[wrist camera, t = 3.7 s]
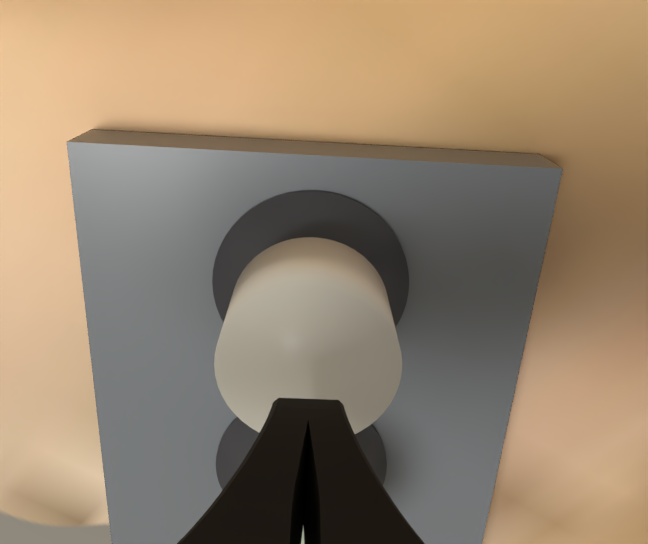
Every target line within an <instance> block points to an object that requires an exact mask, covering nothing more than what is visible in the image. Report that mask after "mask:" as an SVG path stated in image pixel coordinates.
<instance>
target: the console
mask: <svg viewBox="0 0 648 544" xmlns="http://www.w3.org/2000/svg"><path fill="white" fill-rule="evenodd" d="M67 149H68V158H69V167H70V176H71V185H72V193H73V202H74V211H75V220H76V229H77V238H78V247H79V256H80V265H81V274H82V282H83V291H84V300H85V309H86V318H87V327H88V336H89V345H90V354H91V363H92V372H93V380H94V389H95V398H96V407H97V416H98V425H99V434H100V443H101V452H102V461H103V470H104V478H105V487H106V496H107V505H108V514H109V523H110V532H111V540H112V544H177V543H178V542H179V541H180V540H181V539H182V538H183V537H184V536H185V535H186V534H187V533H188V532H189V530H190V529H191V528H192V527H193V526H194V525H195V524H196V522H197V521H198V520H199V519H200V518H201V517H202V516H203V514H204V513H205V512H206V511H207V510H208V508H209V507H210V506H211V505H212V503H213V502H214V501H215V500H216V498H217V497H218V496H219V494H220V493H221V492H222V490H223V489H224V488H225V486H226V485H227V483H228V482H229V481H230V479H231V478H232V476H233V475H234V474H235V472H236V471H237V469H238V468H239V466H240V465H241V463H242V462H243V460H244V459H245V457H246V455H247V454H248V452H249V450H250V449H251V447H252V445H253V444H254V442H255V440H256V439H257V437H258V435H259V432H257V431H255V430H254V429H252V428H250V427H249V426H248V425H246V424H245V423H244V422H243V421H241V420H240V419H239V418H238V417H237V416H236V415H235V414H234V413H233V412H232V410H231V409H230V408H229V406H228V405H227V404H226V402H225V400H224V399H223V397H222V395H221V393H220V390H219V388H218V385H217V381H216V377H215V369H214V358H215V351H216V346H217V342H218V339H219V336H220V333H221V329H222V326H223V323H224V320H225V317H226V313H227V310H228V307H229V304H230V301H231V297H232V294H233V291H234V288H235V285H236V283H237V280H238V278H239V277H240V275H241V273H242V271H243V270H244V269H245V267H246V266H247V265H248V263H249V262H251V261H252V260H253V259H254V258H255V257H256V256H257V255H258V254H260V253H261V252H262V251H264V250H265V249H267V248H269V247H271V246H273V245H275V244H277V243H280V242H282V241H286V240H290V239H295V238H302V237H316V238H325V239H329V240H333V241H337V242H339V243H342V244H345V245H347V246H349V247H350V248H352V249H354V250H356V251H357V252H358V253H360V254H361V255H363V256H364V257H365V258H366V259H367V260H368V261H369V262H370V263H371V264H372V265H373V267H374V268H375V269H376V270H377V272H378V274H379V275H380V277H381V279H382V281H383V283H384V286H385V288H386V292H387V296H388V300H389V304H390V308H391V312H392V316H393V321H394V325H395V329H396V333H397V337H398V341H399V345H400V349H401V355H402V375H401V380H400V384H399V387H398V390H397V392H396V395H395V396H394V398H393V400H392V402H391V404H390V405H389V406H388V408H387V409H386V410H385V412H384V413H383V414H382V415H381V416H380V417H379V418H378V419H377V420H376V421H375V422H373V423H372V424H371V425H370V426H368V427H367V428H365V429H364V430H362V431H360V432H359V433H356V434H355V436H356V438H357V441H358V443H359V445H360V447H361V449H362V451H363V452H364V454H365V456H366V458H367V460H368V461H369V463H370V465H371V467H372V469H373V470H374V472H375V474H376V476H377V477H378V479H379V481H380V482H381V484H382V485H383V487H384V489H385V490H386V492H387V493H388V495H389V496H390V498H391V499H392V501H393V502H394V504H395V505H396V507H397V508H398V509H399V511H400V512H401V514H402V515H403V516H404V518H405V519H406V521H407V522H408V523H409V524H410V526H411V527H412V528H413V530H414V531H415V532H416V533H417V535H418V536H419V537H420V538H421V540H422V541H423V542H424V543H425V544H482V541H483V536H484V531H485V527H486V522H487V518H488V513H489V508H490V504H491V499H492V494H493V490H494V485H495V481H496V476H497V471H498V467H499V462H500V457H501V453H502V448H503V443H504V439H505V434H506V430H507V425H508V420H509V416H510V411H511V406H512V402H513V397H514V393H515V388H516V383H517V379H518V374H519V369H520V365H521V360H522V355H523V351H524V346H525V342H526V337H527V332H528V328H529V323H530V318H531V314H532V309H533V305H534V300H535V295H536V291H537V286H538V281H539V277H540V272H541V268H542V263H543V258H544V254H545V249H546V244H547V240H548V235H549V230H550V226H551V221H552V217H553V212H554V207H555V203H556V198H557V193H558V189H559V184H560V180H561V175H562V170H563V169H562V168H561V167H559V166H558V165H556V164H554V163H553V162H551V161H549V160H548V159H546V158H545V157H543V156H541V155H540V154H530V153H512V152H494V151H475V150H457V149H439V148H421V147H403V146H385V145H367V144H349V143H330V142H312V141H294V140H276V139H258V138H240V137H222V136H203V135H185V134H167V133H149V132H131V131H113V130H95V129H92V130H90V131H88V132H85V133H83V134H81V135H79V136H77V137H75V138H73V139H71V140H69V141H67Z"/></svg>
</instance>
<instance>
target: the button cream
mask: <svg viewBox="0 0 648 544" xmlns="http://www.w3.org/2000/svg"><path fill="white" fill-rule="evenodd" d="M214 369H215V377H216V381H217V385H218V388H219V390H220V393H221V395H222V397H223V399H224V400H225V402H226V404H227V405H228V406H229V408H230V409H231V410H232V412H233V413H234V414H235V415H236V416H237V417H238V418H239V419H240V420H241V421H243V422H244V423H245V424H246V425H248V426H249V427H250V428H252V429H254V430H255V431H257V432H259V433H260V431H261V429H262V427H263V426H264V423H265V421H266V419H267V417H268V415H269V412H270V410H271V407H272V404H273V402H274V401H275V400H277V399H278V398H301V399H329V400H339V401H340V402H341V403H342V404H343V405H344V409H345V412H346V415H347V418H348V420H349V423H350V425H351V427H352V430H353V432H354V434H356V433H359V432H360V431H362V430H364V429H365V428H367V427H368V426H370V425H371V424H372V423H373V422H375V421H376V420H377V419H378V418H379V417H380V416H381V415H382V414H383V413H384V412H385V410H386V409H387V408H388V406H389V405H390V404H391V402H392V400H393V398H394V396H395V395H396V392H397V390H398V387H399V384H400V380H401V375H402V355H401V349H400V345H399V341H398V337H397V333H396V329H395V325H394V321H393V316H392V312H391V308H390V304H389V300H388V296H387V292H386V288H385V286H384V283H383V281H382V279H381V277H380V275H379V274H378V272H377V270H376V269H375V268H374V267H373V265H372V264H371V263H370V262H369V261H368V260H367V259H366V258H365V257H364V256H363V255H361V254H360V253H358V252H357V251H356V250H354V249H352V248H350V247H349V246H347V245H345V244H342V243H339V242H337V241H333V240H329V239H325V238H316V237H302V238H295V239H290V240H286V241H282V242H280V243H277V244H275V245H273V246H271V247H269V248H267V249H265V250H264V251H262V252H261V253H260V254H258V255H257V256H256V257H255V258H254V259H253V260H252V261H251V262H249V263H248V265H247V266H246V267H245V269H244V270H243V271H242V273H241V275H240V277H239V278H238V280H237V283H236V285H235V288H234V291H233V294H232V297H231V301H230V304H229V307H228V310H227V313H226V317H225V320H224V323H223V326H222V329H221V333H220V336H219V339H218V342H217V346H216V351H215V358H214Z"/></svg>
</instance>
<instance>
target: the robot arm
mask: <svg viewBox="0 0 648 544" xmlns="http://www.w3.org/2000/svg"><path fill="white" fill-rule="evenodd" d="M303 527H304V543H305V544H425V543H424V542H423V541H422V540H421V538H420V537H419V536H418V535H417V533H416V532H415V531H414V530H413V528H412V527H411V526H410V524H409V523H408V522H407V521H406V519H405V518H404V516H403V515H402V514H401V512H400V511H399V509H398V508H397V507H396V505H395V504H394V502H393V501H392V499H391V498H390V496H389V495H388V493H387V492H386V490H385V489H384V487H383V485H382V484H381V482H380V481H379V479H378V477H377V476H376V474H375V472H374V470H373V469H372V467H371V465H370V463H369V461H368V460H367V458H366V456H365V454H364V452H363V451H362V449H361V447H360V445H359V443H358V441H357V438H356V436H355V434H354V432H353V430H352V427H351V425H350V423H349V420H348V418H347V415H346V412H345V409H344V405H343V404H342V403H341V402H340V401H339V400H329V399H301V398H278V399H277V400H275V401H274V402H273V404H272V407H271V410H270V412H269V415H268V417H267V419H266V421H265V423H264V426H263V427H262V429H261V431H260V433H259V435H258V437H257V439H256V440H255V442H254V444H253V445H252V447H251V449H250V450H249V452H248V454H247V455H246V457H245V459H244V460H243V462H242V463H241V465H240V466H239V468H238V469H237V471H236V472H235V474H234V475H233V476H232V478H231V479H230V481H229V482H228V483H227V485H226V486H225V488H224V489H223V490H222V492H221V493H220V494H219V496H218V497H217V498H216V500H215V501H214V502H213V503H212V505H211V506H210V507H209V508H208V510H207V511H206V512H205V513H204V514H203V516H202V517H201V518H200V519H199V520H198V521H197V522H196V524H195V525H194V526H193V527H192V528H191V529H190V530H189V532H188V533H187V534H186V535H185V536H184V537H183V538H182V539H181V540H180V541H179V542H178V543H177V544H301V540H302V532H303Z"/></svg>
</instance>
